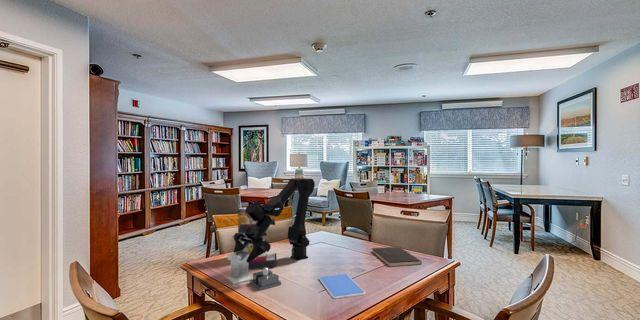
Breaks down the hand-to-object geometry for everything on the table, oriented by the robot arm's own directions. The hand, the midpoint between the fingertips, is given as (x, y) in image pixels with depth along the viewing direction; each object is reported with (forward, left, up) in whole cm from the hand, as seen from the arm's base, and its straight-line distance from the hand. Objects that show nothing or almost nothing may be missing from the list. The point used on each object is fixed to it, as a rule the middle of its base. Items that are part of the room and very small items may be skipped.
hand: (239, 259), depth 126 cm
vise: (-7, +10, -8) cm, 14 cm away
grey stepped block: (+1, 0, -7) cm, 7 cm away
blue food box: (-15, -25, -8) cm, 30 cm away
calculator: (-14, -12, -8) cm, 20 cm away
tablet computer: (-29, +29, -9) cm, 42 cm away
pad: (0, 0, -8) cm, 8 cm away
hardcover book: (-72, +17, -9) cm, 75 cm away
